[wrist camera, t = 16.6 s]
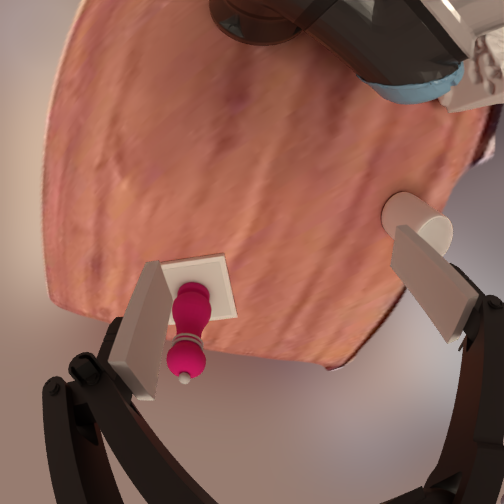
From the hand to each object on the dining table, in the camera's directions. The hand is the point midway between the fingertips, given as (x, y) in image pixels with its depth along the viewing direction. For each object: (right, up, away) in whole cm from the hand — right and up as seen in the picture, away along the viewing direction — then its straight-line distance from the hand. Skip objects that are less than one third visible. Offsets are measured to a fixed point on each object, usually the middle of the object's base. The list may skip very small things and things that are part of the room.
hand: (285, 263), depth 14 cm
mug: (+28, +8, +34) cm, 45 cm away
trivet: (-13, -7, +39) cm, 41 cm away
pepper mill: (-13, -7, +38) cm, 41 cm away
